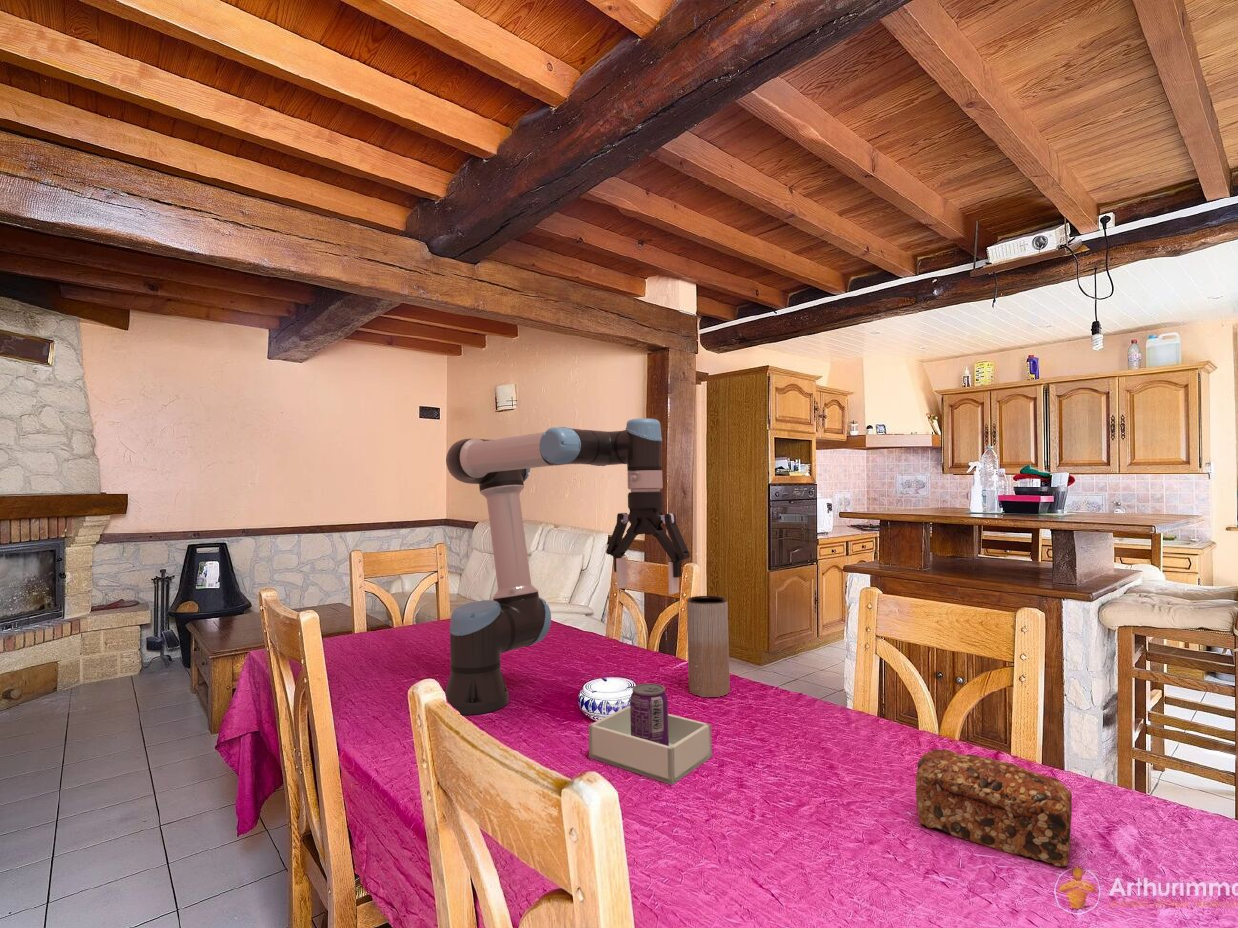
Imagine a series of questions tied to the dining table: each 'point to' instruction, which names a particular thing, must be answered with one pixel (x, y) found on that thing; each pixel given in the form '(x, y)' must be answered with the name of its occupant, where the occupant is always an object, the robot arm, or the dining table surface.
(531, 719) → the dining table surface
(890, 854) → the dining table surface
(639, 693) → the beverage can
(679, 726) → the tub
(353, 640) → the dining table surface
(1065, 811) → the bread
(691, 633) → the planter
